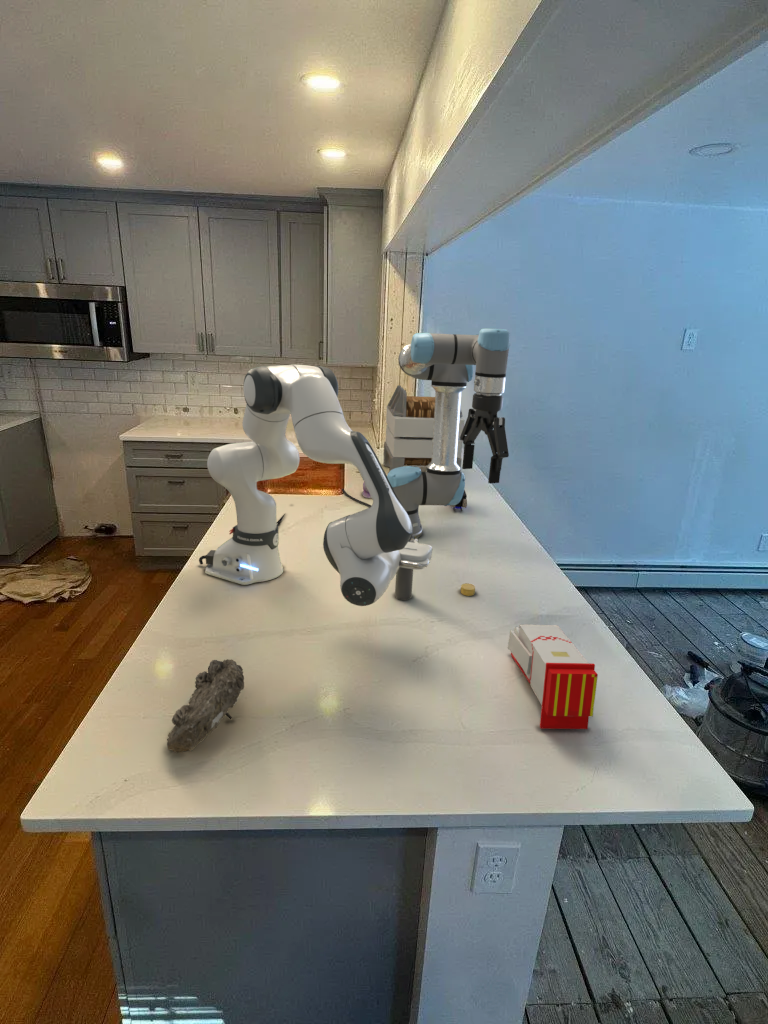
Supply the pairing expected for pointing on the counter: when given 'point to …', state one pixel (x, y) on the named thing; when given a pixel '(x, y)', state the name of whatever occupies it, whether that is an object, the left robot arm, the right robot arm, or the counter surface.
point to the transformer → (412, 431)
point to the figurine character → (461, 503)
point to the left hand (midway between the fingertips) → (395, 538)
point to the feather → (280, 520)
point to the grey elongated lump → (206, 705)
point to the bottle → (404, 582)
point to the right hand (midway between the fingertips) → (479, 475)
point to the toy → (555, 675)
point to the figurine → (366, 492)
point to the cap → (467, 589)
